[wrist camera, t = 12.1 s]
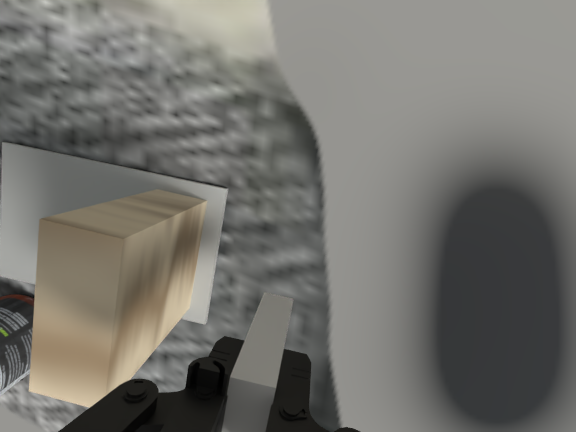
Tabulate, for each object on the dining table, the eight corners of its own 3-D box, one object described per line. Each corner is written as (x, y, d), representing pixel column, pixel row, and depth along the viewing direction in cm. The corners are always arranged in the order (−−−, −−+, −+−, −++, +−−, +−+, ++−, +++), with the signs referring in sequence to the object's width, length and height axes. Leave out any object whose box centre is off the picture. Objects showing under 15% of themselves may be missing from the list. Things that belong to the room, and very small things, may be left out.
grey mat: (7, 142, 24) (2, 141, 24) (228, 188, 23) (226, 189, 23) (4, 274, 26) (-1, 275, 26) (206, 321, 26) (205, 324, 25)
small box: (156, 189, 23) (38, 218, 14) (207, 200, 23) (123, 239, 14) (142, 296, 25) (27, 390, 15) (189, 308, 25) (103, 411, 15)
